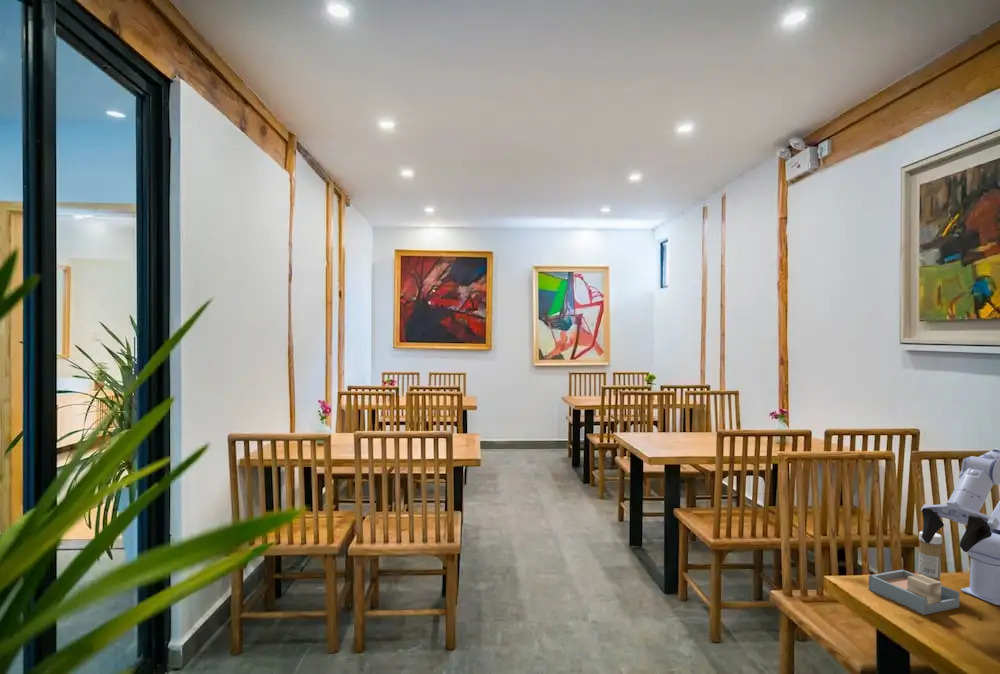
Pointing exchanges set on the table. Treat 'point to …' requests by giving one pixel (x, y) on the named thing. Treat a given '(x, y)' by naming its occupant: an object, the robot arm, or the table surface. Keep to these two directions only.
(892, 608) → the table surface
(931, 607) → the trap box
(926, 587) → the beech block
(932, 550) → the sprinkles bottle
